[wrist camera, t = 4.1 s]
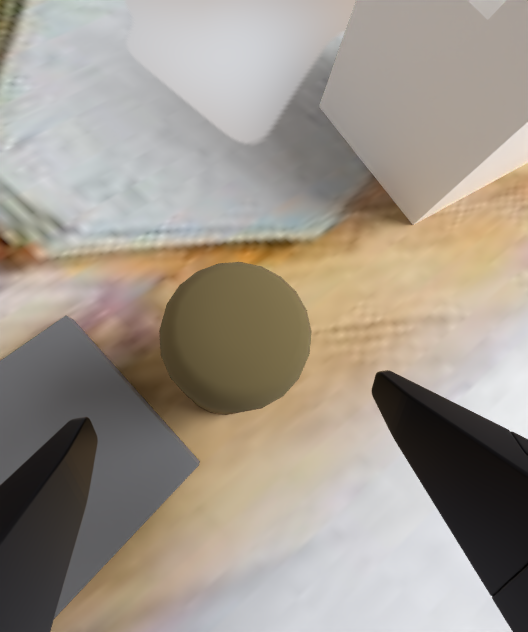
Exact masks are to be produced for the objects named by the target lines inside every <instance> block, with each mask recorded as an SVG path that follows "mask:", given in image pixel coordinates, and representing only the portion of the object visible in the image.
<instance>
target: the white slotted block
mask: <svg viewBox="0 0 528 632" xmlns="http://www.w3.org/2000/svg"><path fill="white" fill-rule="evenodd" d="M319 107H320V109H321V110H322V111H323V112H324V114H325V115H326V116H327V117H328V119H329V120H330V121H331V123H332V124H333V125H334V126H335V128H336V129H337V130H338V131H339V133H340V134H341V135H342V136H343V138H344V139H345V140H346V141H347V143H348V144H349V145H350V146H351V148H352V149H353V150H354V152H355V153H356V154H357V155H358V157H359V158H360V159H361V160H362V162H363V163H364V164H365V165H366V167H367V168H368V169H369V170H370V172H371V173H372V174H373V175H374V177H375V178H376V179H377V181H378V182H379V183H380V184H381V186H382V187H383V188H384V189H385V191H386V192H387V193H388V194H389V196H390V197H391V198H392V199H393V201H394V202H395V203H396V204H397V206H398V207H399V208H400V210H401V211H402V212H403V213H404V215H405V216H406V217H407V218H408V220H409V221H410V222H411V223H412V225H414V224H416V223H418V222H420V221H421V220H423V219H425V218H427V217H429V216H431V215H432V214H434V213H436V212H438V211H440V210H442V209H443V208H445V207H447V206H449V205H451V204H453V203H455V202H456V201H458V200H460V199H462V198H464V197H466V196H467V195H469V194H471V193H473V192H475V191H477V190H478V189H480V188H482V187H484V186H486V185H488V184H490V183H491V182H493V181H495V180H497V179H499V178H501V177H502V176H504V175H506V174H508V173H510V172H512V171H514V170H515V169H517V168H519V167H521V166H523V165H525V164H526V163H528V0H356V2H355V5H354V8H353V11H352V14H351V17H350V19H349V22H348V25H347V28H346V31H345V34H344V36H343V39H342V42H341V45H340V48H339V51H338V54H337V56H336V59H335V62H334V65H333V68H332V71H331V74H330V76H329V79H328V82H327V85H326V88H325V91H324V94H323V96H322V99H321V102H320V105H319Z"/></svg>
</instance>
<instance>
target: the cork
mask: <svg viewBox="0 0 528 632" xmlns="http://www.w3.org/2000/svg"><path fill="white" fill-rule="evenodd" d="M159 333H160V348H161V357H162V359H163V361H164V364H165V366H166V368H167V371H168V373H169V375H170V378H171V379H172V380H173V381H174V382H175V383H176V384H177V385H178V387H179V388H180V389H181V390H182V391H183V392H184V393H185V394H186V395H187V396H188V397H189V398H191V399H192V400H193V401H194V402H195V403H196V404H197V405H198V406H199V407H201V408H203V409H205V410H207V411H209V412H211V413H217V414H224V415H227V414H232V413H239V412H244V411H250V410H255V409H260V408H263V407H265V406H266V405H268V404H270V403H272V402H274V401H275V400H277V399H279V398H281V397H282V396H284V394H285V393H286V392H287V391H288V390H289V389H290V388H291V387H292V386H293V384H294V383H295V382H296V381H297V380H298V379H299V377H300V375H301V372H302V370H303V368H304V365H305V363H306V361H307V358H308V356H309V352H310V341H311V328H310V323H309V319H308V314H307V310H306V308H305V307H304V305H303V303H302V301H301V299H300V298H299V296H298V294H297V292H296V291H295V290H294V289H293V288H292V287H291V286H290V285H289V284H288V283H287V282H286V281H285V280H284V279H282V278H281V277H280V276H278V275H276V274H275V273H273V272H271V271H269V270H267V269H265V268H263V267H261V266H256V265H252V264H247V263H242V262H235V263H220V264H216V265H213V266H211V267H208V268H205V269H203V270H200V271H198V272H196V273H195V274H194V275H192V276H191V277H190V278H188V279H187V280H186V281H185V282H183V283H182V284H181V285H180V286H179V287H178V289H177V290H176V292H175V293H174V294H173V296H172V297H171V299H170V300H169V302H168V303H167V305H166V309H165V313H164V316H163V320H162V323H161V327H160V331H159Z"/></svg>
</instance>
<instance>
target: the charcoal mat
mask: <svg viewBox="0 0 528 632" xmlns="http://www.w3.org/2000/svg"><path fill="white" fill-rule="evenodd" d="M80 417H88V418H90V420H91V422H92V425H93V427H94V430H95V432H96V434H97V438H98V444H97V450H96V455H95V461H94V467H93V473H92V478H91V484H90V490H89V495H88V500H87V504H86V508H85V512H84V515H83V519H82V522H81V526H80V529H79V533H78V536H77V540H76V543H75V547H74V550H73V554H72V557H71V560H70V564H69V567H68V571H67V574H66V578H65V581H64V585H63V588H62V592H61V595H60V599H59V602H58V606H57V609H56V613H55V616H54V618H55V617H56V616H57V615H58V614H59V613H60V612H61V611H62V610H63V609H64V608H65V607H66V606H67V605H68V604H69V602H70V601H71V600H72V599H73V598H74V597H75V596H76V595H77V594H78V593H79V592H80V591H81V590H82V589H83V588H84V587H85V585H86V584H87V583H88V582H89V581H90V580H91V579H92V578H93V577H94V576H95V575H96V574H97V573H98V572H99V571H100V570H101V568H102V567H103V566H104V565H105V564H106V563H107V562H108V561H109V560H110V559H111V558H112V557H113V556H114V555H115V554H116V553H117V552H118V550H119V549H120V548H121V547H122V546H123V545H124V544H125V543H126V542H127V541H128V540H129V539H130V538H131V537H132V536H133V535H134V533H135V532H136V531H137V530H138V529H139V528H140V527H141V526H142V525H143V524H144V523H145V522H146V521H147V520H148V519H149V518H150V516H151V515H152V514H153V513H154V512H155V511H156V510H157V509H158V508H159V507H160V506H161V505H162V504H163V503H164V502H165V501H166V499H167V498H168V497H169V496H170V495H171V494H172V493H173V492H174V491H175V490H176V489H177V488H178V487H179V486H180V485H181V484H182V483H183V481H184V480H185V479H186V478H187V477H188V476H189V475H190V474H191V473H192V472H193V471H194V470H195V469H196V468H197V467H198V466H199V463H200V461H199V460H198V459H197V458H196V457H195V456H194V454H193V453H192V452H191V451H190V450H189V449H188V448H187V447H186V445H185V444H184V443H183V442H182V441H181V440H180V439H179V438H178V436H177V435H176V434H175V433H174V432H173V431H172V430H171V429H170V427H169V426H168V425H167V424H166V423H165V422H164V421H163V420H162V418H161V417H160V416H159V415H158V414H157V413H156V412H155V411H154V410H153V408H152V407H151V406H150V405H149V404H148V403H147V402H146V401H145V399H144V398H143V397H142V396H141V395H140V394H139V393H138V392H137V390H136V389H135V388H134V387H133V386H132V385H131V384H130V383H129V381H128V380H127V379H126V378H125V377H124V376H123V375H122V374H121V372H120V371H119V370H118V369H117V368H116V367H115V366H114V365H113V363H112V362H111V361H110V360H109V359H108V358H107V357H106V356H105V355H104V353H103V352H102V351H101V350H100V349H99V348H98V347H97V346H96V344H95V343H94V342H93V341H92V340H91V339H90V338H89V337H88V335H87V334H86V333H85V332H84V331H83V330H82V329H81V328H80V326H79V325H78V324H77V323H76V322H75V321H74V320H73V319H71V318H69V317H68V316H65V317H63V318H62V319H60V320H59V321H57V322H56V323H54V324H53V325H52V326H50V327H49V328H47V329H46V330H44V331H43V332H41V333H40V334H38V335H37V336H36V337H34V338H33V339H31V340H30V341H28V342H27V343H25V344H24V345H23V346H21V347H20V348H18V349H17V350H15V351H14V352H12V353H11V354H9V355H8V356H7V357H5V358H4V359H2V360H1V361H0V485H1V484H2V483H3V482H4V481H5V480H6V479H7V478H8V477H9V476H10V475H11V474H13V473H14V472H15V471H16V470H17V469H18V468H19V467H20V466H21V465H22V464H23V463H24V462H25V461H26V460H28V459H29V458H30V457H31V456H32V455H33V454H34V453H35V452H36V451H37V450H38V449H39V448H40V447H41V446H43V445H44V444H45V443H46V442H47V441H48V440H49V439H50V438H51V437H52V436H53V435H54V434H55V433H56V432H58V431H59V430H60V429H61V428H62V427H63V426H64V425H65V424H66V423H67V422H68V421H70V420H71V419H74V418H80Z"/></svg>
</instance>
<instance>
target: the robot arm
mask: <svg viewBox="0 0 528 632" xmlns="http://www.w3.org/2000/svg"><path fill="white" fill-rule="evenodd" d="M372 395H373V398H374V400H375V402H376V404H377V406H378V408H379V410H380V412H381V414H382V416H383V418H384V420H385V422H386V424H387V426H388V428H389V430H390V432H391V434H392V436H393V438H394V439H395V441H396V443H397V444H398V446H399V448H400V449H401V451H402V453H403V454H404V456H405V457H406V459H407V461H408V462H409V464H410V466H411V467H412V469H413V470H414V472H415V474H416V475H417V477H418V478H419V480H420V482H421V483H422V485H423V487H424V488H425V490H426V491H427V493H428V495H429V496H430V498H431V500H432V501H433V503H434V504H435V506H436V508H437V509H438V511H439V513H440V514H441V516H442V517H443V519H444V521H445V522H446V524H447V525H448V527H449V529H450V530H451V532H452V534H453V535H454V537H455V538H456V540H457V542H458V543H459V545H460V547H461V548H462V550H463V551H464V553H465V555H466V556H467V558H468V560H469V561H470V563H471V564H472V566H473V568H474V569H475V571H476V572H477V574H478V576H479V577H480V579H481V581H482V582H483V584H484V585H485V587H486V589H487V590H488V592H489V594H490V595H491V596H492V599H493V600H494V602H495V604H496V605H497V607H498V609H499V610H500V612H501V613H502V615H503V617H504V618H505V620H506V621H507V623H508V625H509V626H510V628H511V630H512V631H513V632H528V439H526V438H524V437H522V436H520V435H518V434H516V433H514V432H510V431H509V430H508V429H506V428H504V427H502V426H500V425H498V424H496V423H494V422H492V421H490V420H488V419H486V418H484V417H482V416H480V415H478V414H476V413H474V412H472V411H470V410H468V409H466V408H464V407H462V406H460V405H458V404H456V403H454V402H452V401H450V400H448V399H446V398H444V397H442V396H440V395H438V394H436V393H434V392H432V391H430V390H428V389H426V388H424V387H422V386H420V385H418V384H416V383H414V382H412V381H410V380H408V379H406V378H403V377H401V376H399V375H397V374H395V373H393V372H391V371H388V370H387V371H380V372H377V374H376V376H375V379H374V383H373V387H372ZM97 444H98V438H97V434H96V432H95V430H94V427H93V425H92V422H91V420H90V418H88V417H80V418H74V419H71V420H70V421H68V422H67V423H66V424H65V425H64V426H63V427H62V428H61V429H60V430H59V431H58V432H56V433H55V434H54V435H53V436H52V437H51V438H50V439H49V440H48V441H47V442H46V443H45V444H44V445H43V446H41V447H40V448H39V449H38V450H37V451H36V452H35V453H34V454H33V455H32V456H31V457H30V458H29V459H28V460H26V461H25V462H24V463H23V464H22V465H21V466H20V467H19V468H18V469H17V470H16V471H15V472H14V473H13V474H11V475H10V476H9V477H8V478H7V479H6V480H5V481H4V482H3V483H2V484H1V485H0V632H50V630H51V627H52V623H53V620H54V616H55V613H56V609H57V606H58V602H59V599H60V595H61V592H62V588H63V585H64V581H65V578H66V574H67V571H68V567H69V564H70V560H71V557H72V554H73V550H74V547H75V543H76V540H77V536H78V533H79V529H80V526H81V522H82V519H83V515H84V512H85V508H86V504H87V500H88V495H89V490H90V484H91V478H92V473H93V467H94V461H95V455H96V450H97Z"/></svg>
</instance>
